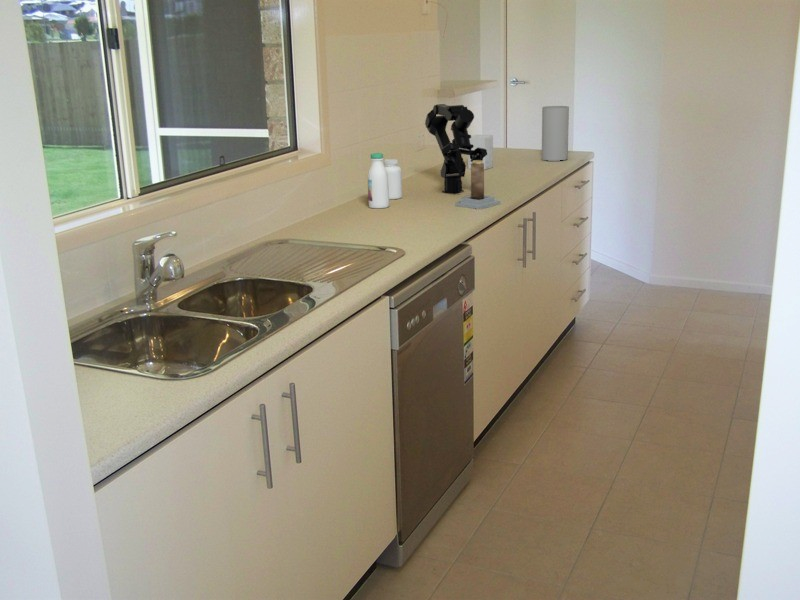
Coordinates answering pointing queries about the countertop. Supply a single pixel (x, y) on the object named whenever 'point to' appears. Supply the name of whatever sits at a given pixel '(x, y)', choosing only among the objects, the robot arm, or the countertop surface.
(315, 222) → the countertop surface
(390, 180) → the pill bottle
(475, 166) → the pepper mill
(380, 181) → the milk bottle
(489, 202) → the seat dish
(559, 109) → the cylinder vase
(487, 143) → the supplement box
